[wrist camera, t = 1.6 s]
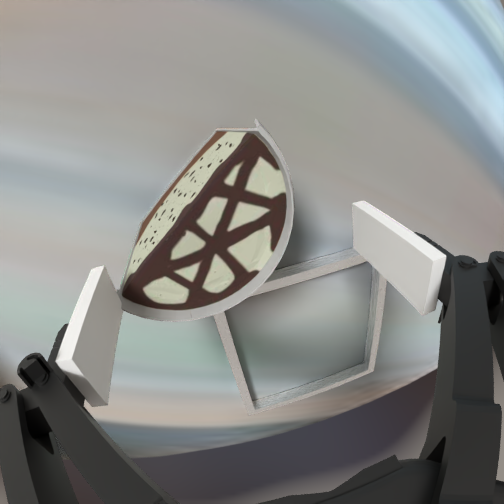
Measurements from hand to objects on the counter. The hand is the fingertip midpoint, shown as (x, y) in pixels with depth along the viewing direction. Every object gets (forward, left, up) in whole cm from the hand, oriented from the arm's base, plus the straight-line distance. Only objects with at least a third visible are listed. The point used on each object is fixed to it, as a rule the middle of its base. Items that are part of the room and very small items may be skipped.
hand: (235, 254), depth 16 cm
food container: (0, 0, -10) cm, 10 cm away
